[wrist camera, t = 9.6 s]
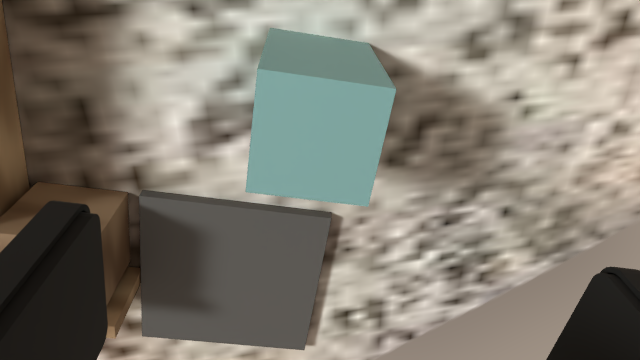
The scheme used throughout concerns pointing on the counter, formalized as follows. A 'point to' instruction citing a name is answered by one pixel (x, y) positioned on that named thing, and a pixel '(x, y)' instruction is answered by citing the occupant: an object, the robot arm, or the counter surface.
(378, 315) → the counter surface
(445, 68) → the counter surface
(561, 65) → the counter surface
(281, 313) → the pad
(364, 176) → the block
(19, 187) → the rack
